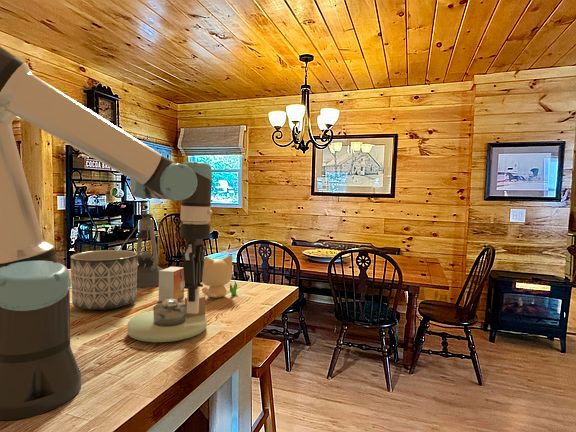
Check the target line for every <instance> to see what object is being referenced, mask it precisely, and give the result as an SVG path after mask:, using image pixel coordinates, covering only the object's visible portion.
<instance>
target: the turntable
mask: <svg viewBox="0 0 576 432" xmlns="http://www.w3.org/2000/svg"><path fill="white" fill-rule="evenodd" d="M184 304H185V305H186V306H185V322H184V323H182V324H180V325H177V326H171V327H161V326H156V325H155V324H154V309H153V310H149V311H146V312H142V313H139V314H137V315H134V316H132V318H130V319H129V320H128V321H127V334H128V336H129V337H130V338H132V339H133V340H134V339H135V340H137V341H141V342H147V343H169V342H177V341H181V340H186V339H189V338H192V337H195V336H198V335H199V334H201V333H203V332H204V331H205V330H206V329H207V325H208V324H207V322H208V321H207V320H208V319H207V318H208V317H207V315H206V295H205V296H204V294H199V312H198V313H197V314H194V313H187V296H184Z"/></svg>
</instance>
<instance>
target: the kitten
mask: <svg viewBox="0 0 576 432" xmlns="http://www.w3.org/2000/svg"><path fill="white" fill-rule="evenodd" d="M233 258H234V257H233V255H232V254H229V255H227V256H225V257H224V258H222V259H221V258H213V259H212V258H210V257H209V256H205V257H204V267H203V277H202V283H201V284H203V286H205V287H202V289H201V292H202V293H203V294H202V295H205V296H207V297H209V298H215V299H216V298H222V297H225V296H226V294H227V289H226V287H225V285H227V284H229V283H230V284H229V292H230V293H231V294H230V295H231V296H236V295H237V288H238V284H237V281H234V285H232V283H231V280H232V277H233V271H232V269H233ZM206 286H207V287H206Z"/></svg>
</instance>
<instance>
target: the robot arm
mask: <svg viewBox="0 0 576 432" xmlns="http://www.w3.org/2000/svg"><path fill="white" fill-rule="evenodd" d="M17 117H18V118H19V119H21V120H24V121H25V122H27V123H29V124H31V125H32V126H34V127H36V128H38V129H40V130H41V131H44V132H45V133H47V134H49V135H51V136H53V137H55V138H56V139H57V140H60V141H62V142H63V143H66V144H67V145H69V146H71V147H73V148H74V149H76V150H78V151H79V152H81V153H83V154H85V155H87V156H89V157H91V158H93V159H94V160H97V161H98V162H100V163H102V164H104V166H107V167H109V168H111V169H113V170H114V171H116V172H118V173H120V174H122V175H123V176H125V177H127V178H129V179H130V180H129V182H130V184H129V185H130V192H131V194H132V196H133V197H134V198H138V199H139V198H141V199H157V200H158V199H159V200H170V201H174V202H178V201H180V218H179V221H181V222H182V223H181V224H180V225H179V227H180V230H179V231H180V232H179V237H180V238H182V239H186V245H185V247H184V251H182V252H181V258H182V261H183V262H182V264H183V265H182V267H184V290H185V289H186V290H187V291H186V292H187V296H186V297H187V313H194V314H197V313H198V312H199V295H200V288H204V287H203V286H204V284H203V283H202V277H203V267H204V259H205V257H206V256H205V255H206V250H207V247H206V246H205V245H204V241H203V240H204V239H209V238H210V237H211V225H210V223H209V222H211V215H212V214H213V213H214V212H213V210H212V209H211V207H212V204H211V202H212V189H213V188H212V187H213V186H212V184H213V171H212V165H210V164H209V163H207V162H197V161H196V162H195V161H183V163H180V162H175V161H172V159H170V158H168V157H166V156H165V155H163V154H161V153H160V152H158V151H157V150H155V149H153V148H152V147H150V146H149V145H147V144H146V143H144V142H142V141H141V140H139V139H138V138H136V137H134V136H133V135H131V134H130V133H128V132H126V131H124V129H121V128H120V127H119V126H117V125H114V124H113V123H112V122H110V121H109V120H107V119H105V118H103V117H102V116H101V115H99V114H97V113H96V112H94V111H93V110H92V109H90V108H87V107H86V106H85V105H83V104H82V103H80V102H78V101H76V100H75V99H73V98H71V97H70V96H69V95H67V94H65V93H64V92H62V91H61V90H59V89H57V88H56V87H54V86H53V85H51V84H49V83H47V82H46V81H44V80H42V79H41V78H39V77H38V76H36V75H35V74H33V73H32V72H31V69H30V66H29V64H28V63H27V62H25V61H24V60H22V59H21V58H19V57H17V56H16V55H14V54H13V53H11V52H10V51H9V50H7V49H5V48H4V47H2V46H1V45H0V421H13V420H19V419H21V420H22V419H24V418H30V417H34V416H37V415H41V414H43V413H46V412H49V411H51V410H54V409H56V408H57V409H58V407H60V406H62V405H64V404H66V403H67V402H70V401H71V400H72V399H73V398H75V396H76V395H77V394H79V392H80V390H81V389H82V373H81V369H80V368H79V366H78V362H77V361H76V358H75V354H74V352H73V350H72V348H71V303H70V302H71V296H70V295H71V293H70V292H71V291H70V289H71V288H72V282H71V276H70V272H69V269H68V268H67V266H65V265H64V264H62V263H61V262H59V259H58V255H57V252H56V248H55V245H53V244H52V243H49V242H47V241H46V240H45V239H44V237H43V233H42V229H41V226H40V223H39V220H38V219H39V218H38V216H37V212H36V208H35V205H34V201H33V198H32V196H31V195H32V194H31V191H30V187H29V184H28V181H27V177H26V175H25V169H24V168H23V163H22V159H21V157H20V153H19V149H18V146H17V142H16V139H15V136H14V132H13V129H12V123H13V121H14V120H15V119H16V118H17Z"/></svg>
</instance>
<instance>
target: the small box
mask: <svg viewBox="0 0 576 432" xmlns="http://www.w3.org/2000/svg"><path fill="white" fill-rule="evenodd" d="M181 298H185V289H184V267H183V266H182V267H181V266H169V267H167V268H163V270H160V271H159V286H158V302H162V300H165V299H177V300H178V301H179V299H181Z"/></svg>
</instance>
